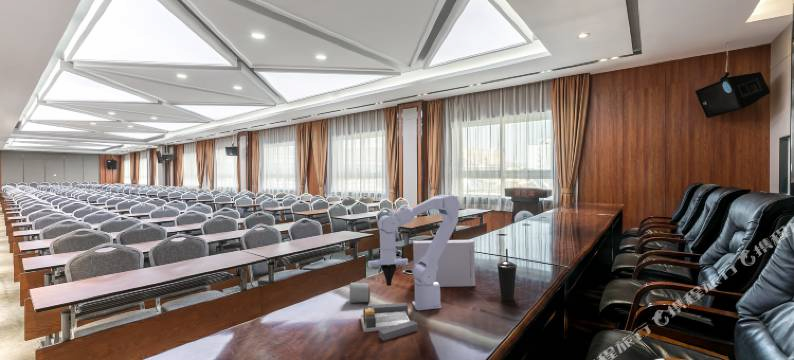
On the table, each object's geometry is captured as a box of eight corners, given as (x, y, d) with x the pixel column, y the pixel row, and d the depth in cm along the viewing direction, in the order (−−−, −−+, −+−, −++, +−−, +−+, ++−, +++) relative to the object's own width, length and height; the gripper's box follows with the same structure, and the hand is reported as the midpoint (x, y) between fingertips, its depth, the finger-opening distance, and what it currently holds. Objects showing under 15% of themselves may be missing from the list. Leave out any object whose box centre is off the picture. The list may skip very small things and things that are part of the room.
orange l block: (373, 318, 122) (373, 307, 122) (374, 321, 119) (374, 310, 119) (365, 318, 121) (364, 307, 121) (365, 322, 118) (365, 311, 118)
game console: (476, 286, 156) (475, 242, 156) (414, 287, 157) (413, 243, 156) (473, 282, 162) (472, 239, 162) (414, 283, 162) (413, 240, 162)
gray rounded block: (370, 304, 138) (370, 285, 138) (349, 305, 137) (348, 286, 137) (370, 295, 148) (370, 277, 148) (351, 296, 148) (350, 278, 148)
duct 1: (406, 310, 132) (406, 302, 132) (408, 313, 129) (407, 305, 129) (372, 313, 130) (371, 305, 130) (372, 316, 127) (372, 308, 127)
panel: (404, 313, 128) (404, 302, 128) (411, 326, 117) (411, 314, 117) (360, 318, 125) (360, 306, 125) (363, 332, 114) (363, 319, 114)
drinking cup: (496, 301, 139) (495, 250, 138) (498, 294, 146) (497, 246, 145) (516, 303, 136) (516, 251, 135) (518, 296, 143) (517, 247, 142)
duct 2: (413, 327, 117) (412, 320, 117) (418, 331, 115) (418, 323, 115) (378, 338, 111) (378, 330, 111) (383, 341, 108) (383, 333, 108)
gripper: (404, 245, 135) (405, 280, 136) (367, 247, 132) (368, 283, 133) (409, 248, 128) (409, 285, 129) (369, 251, 125) (370, 289, 126)
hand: (388, 285), depth 130 cm, fingers closed
